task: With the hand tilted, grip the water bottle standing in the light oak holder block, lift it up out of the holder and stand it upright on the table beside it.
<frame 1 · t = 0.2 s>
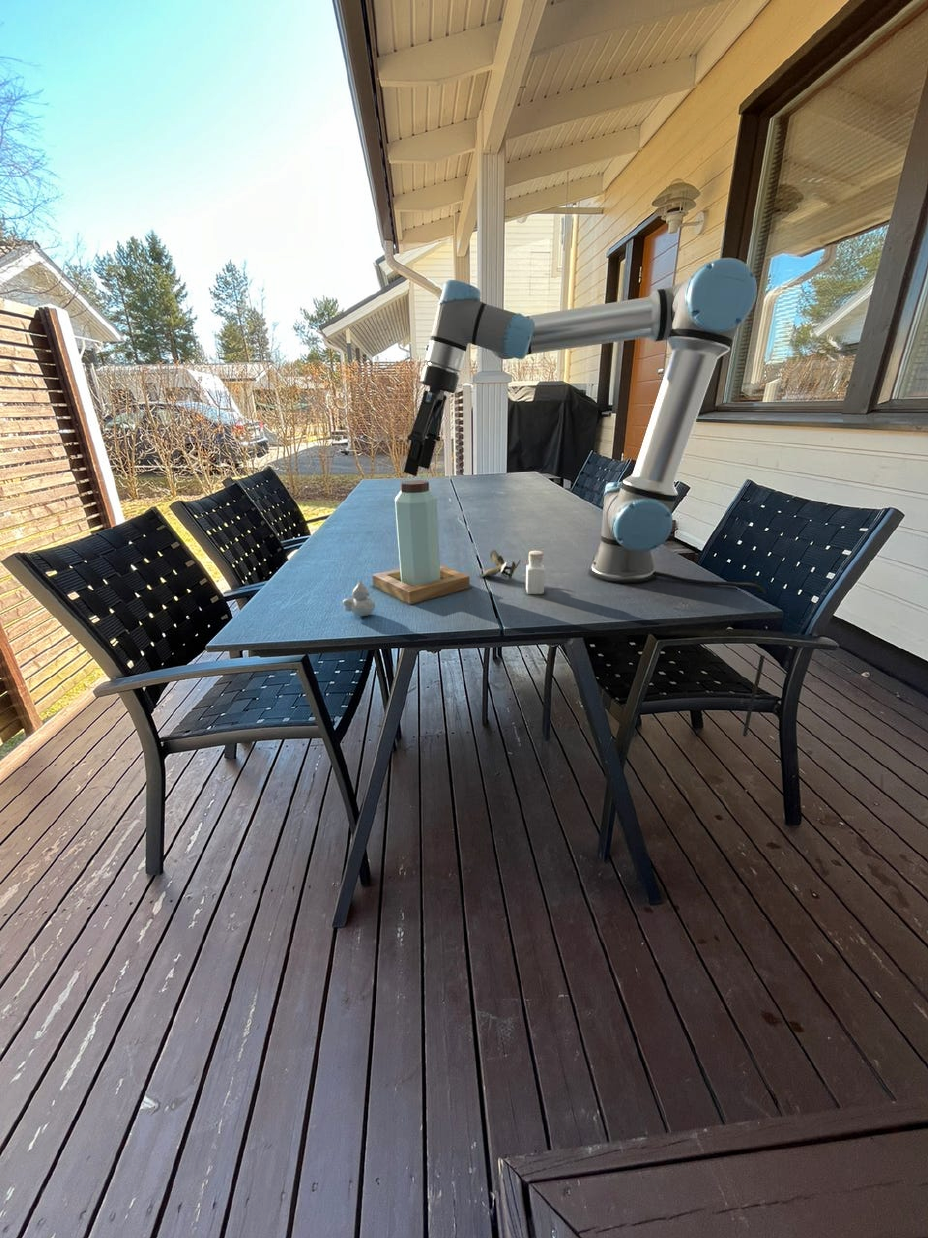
hand: (417, 470, 116), 28 cm above the table, tool tilted 20°, fingers open, 13 cm apart
water bottle: (421, 587, 128), resting in holder
holder: (421, 586, 128), on the table
white rounded figurine: (360, 616, 112), on the table
pepper shaker: (534, 592, 123), on the table
eagle figurine: (498, 578, 134), on the table
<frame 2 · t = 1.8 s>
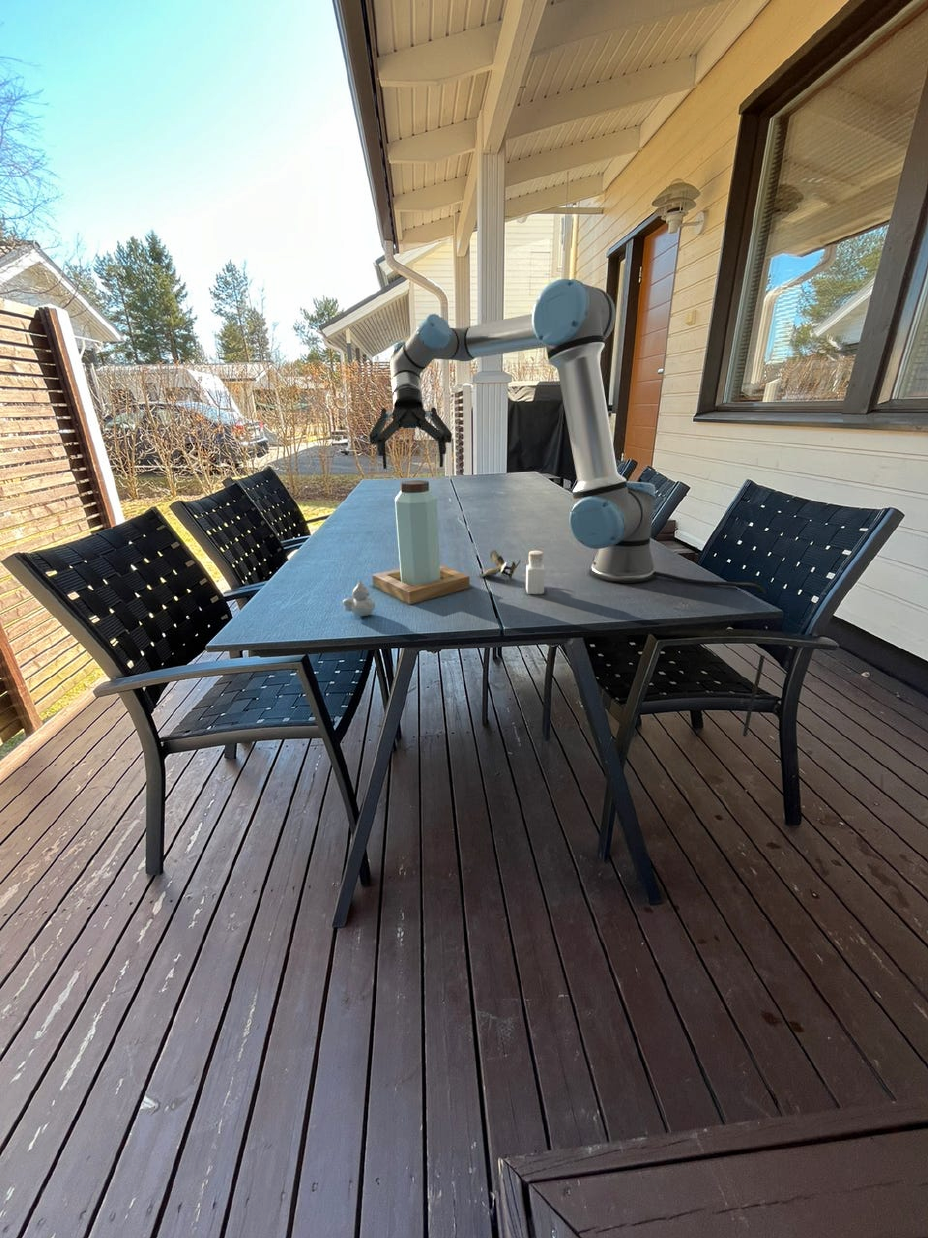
hand: (413, 464, 126), 28 cm above the table, tool tilted 45°, fingers open, 13 cm apart
nothing on the table moved.
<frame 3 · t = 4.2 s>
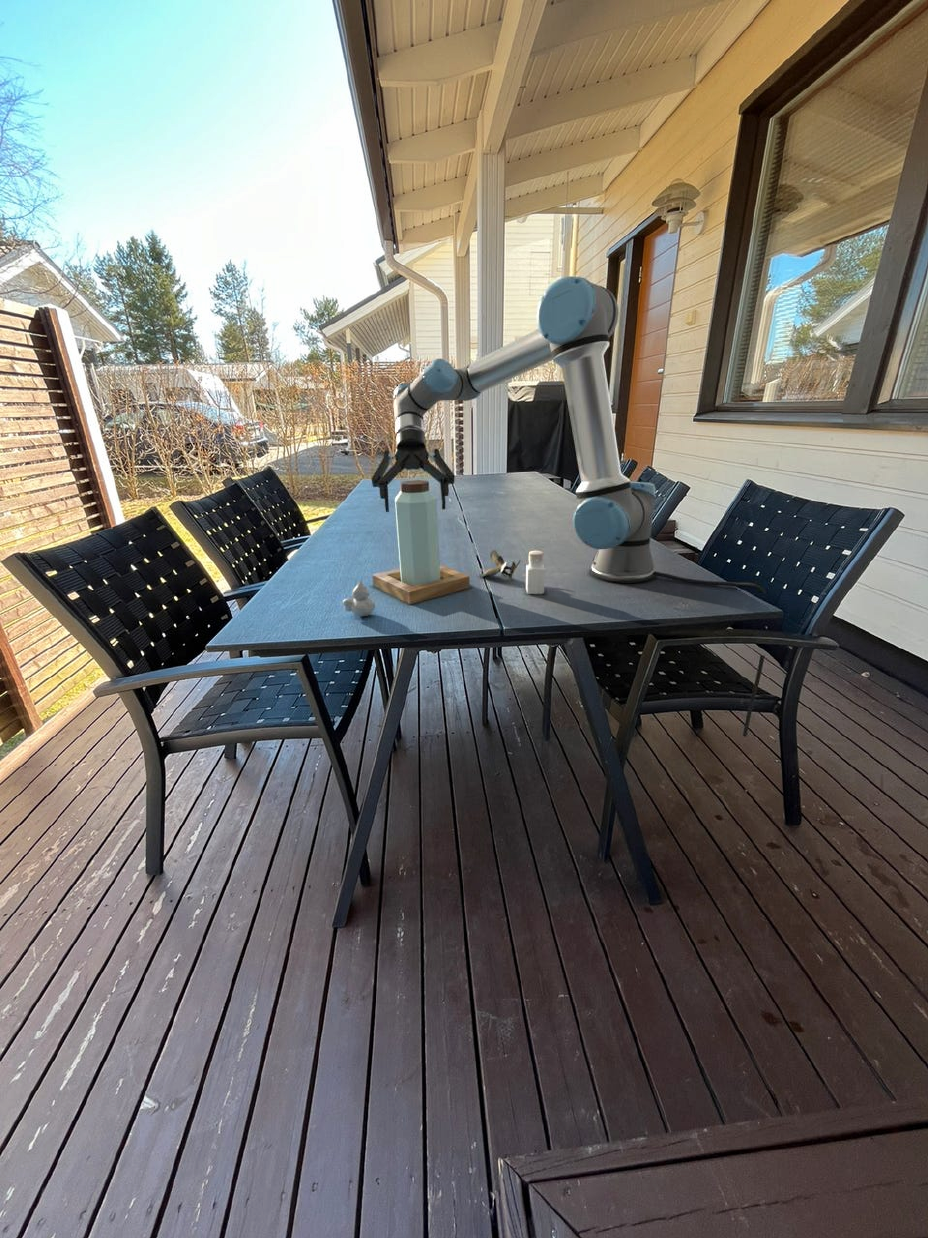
hand: (415, 507, 126), 18 cm above the table, tool tilted 45°, fingers open, 13 cm apart
nothing on the table moved.
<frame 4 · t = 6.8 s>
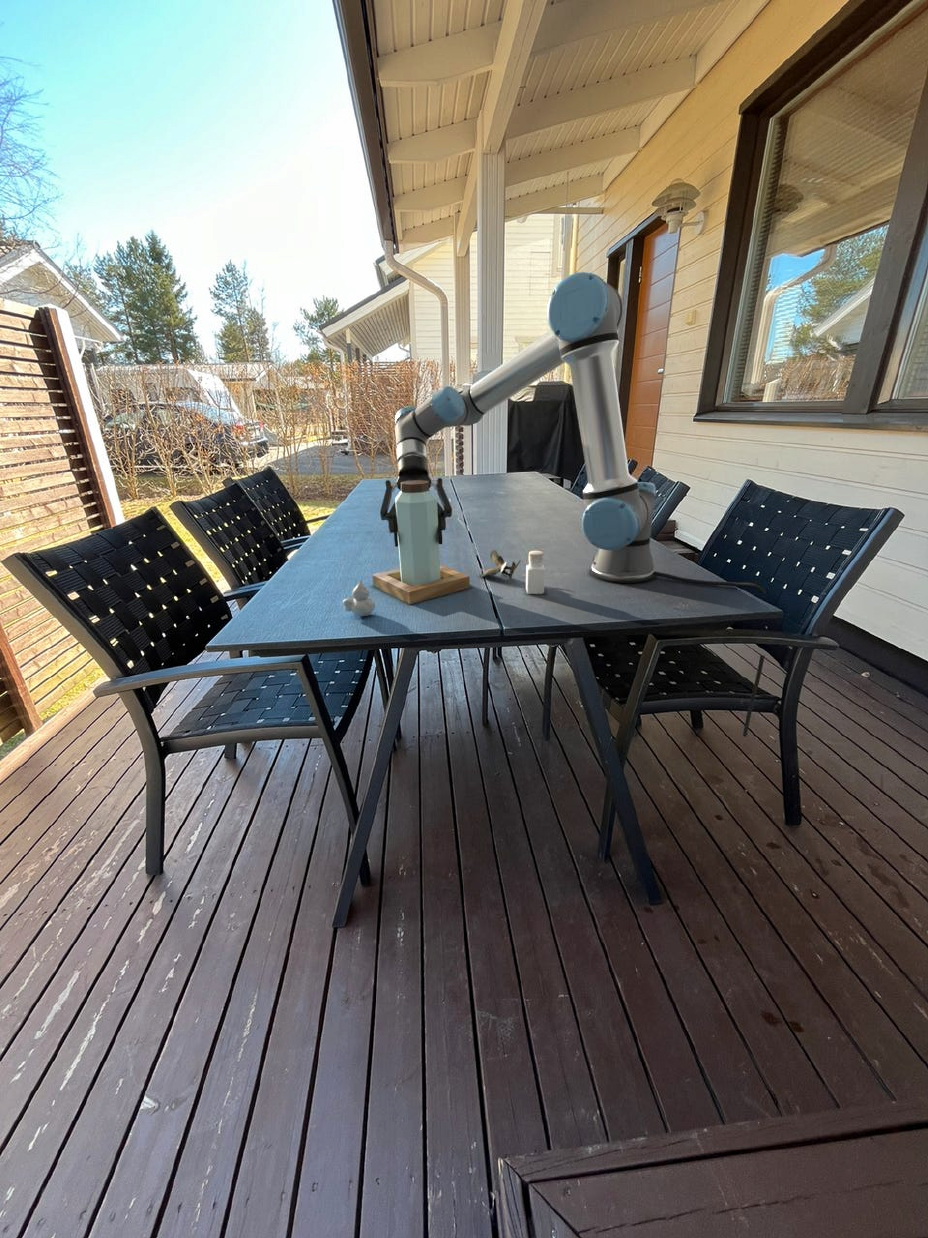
hand: (418, 542, 121), 12 cm above the table, tool tilted 45°, fingers closed on water bottle, 9 cm apart
water bottle: (421, 587, 128), resting in holder, touching gripper
everything else where it was.
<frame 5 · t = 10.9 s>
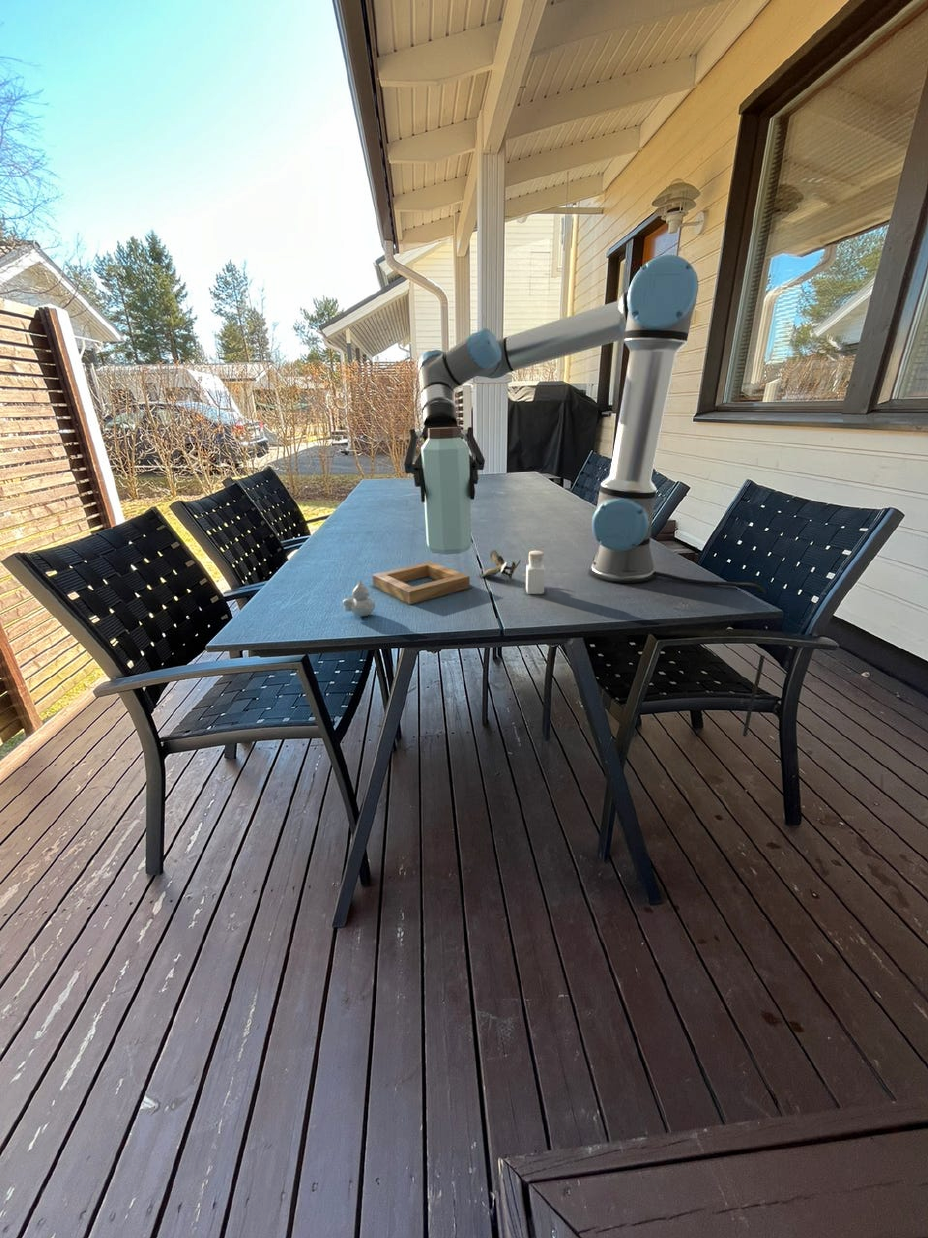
hand: (448, 496, 107), 24 cm above the table, tool tilted 45°, fingers closed on water bottle, 9 cm apart
water bottle: (449, 550, 115), point 12 cm above the table, touching gripper
everything else where it was.
when the fingers open (12 cm above the table, at t = 15.2 s): water bottle stays where it is, on the table.
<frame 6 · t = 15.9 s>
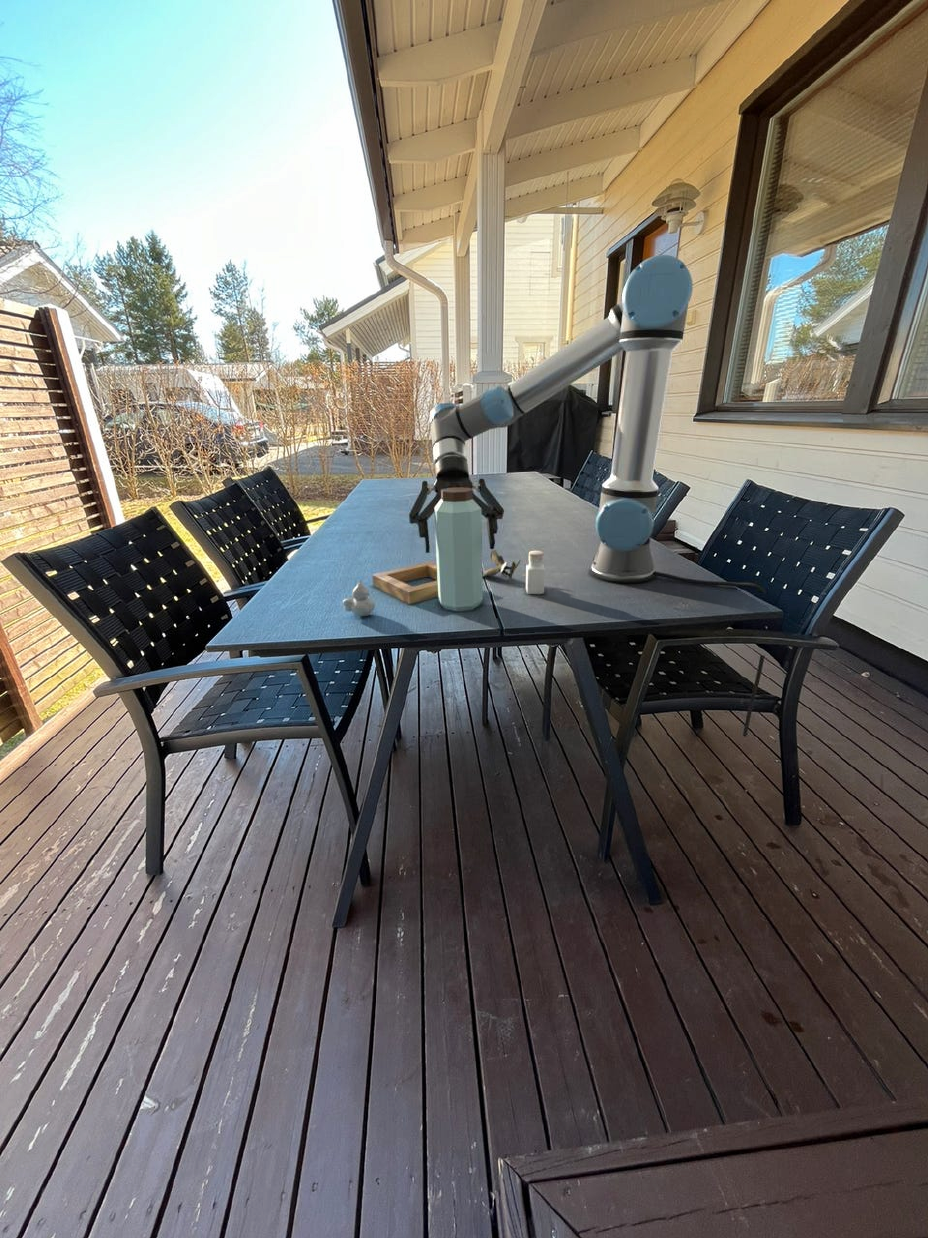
hand: (460, 547, 109), 13 cm above the table, tool tilted 45°, fingers open, 13 cm apart
water bottle: (460, 605, 116), on the table
everything else where it was.
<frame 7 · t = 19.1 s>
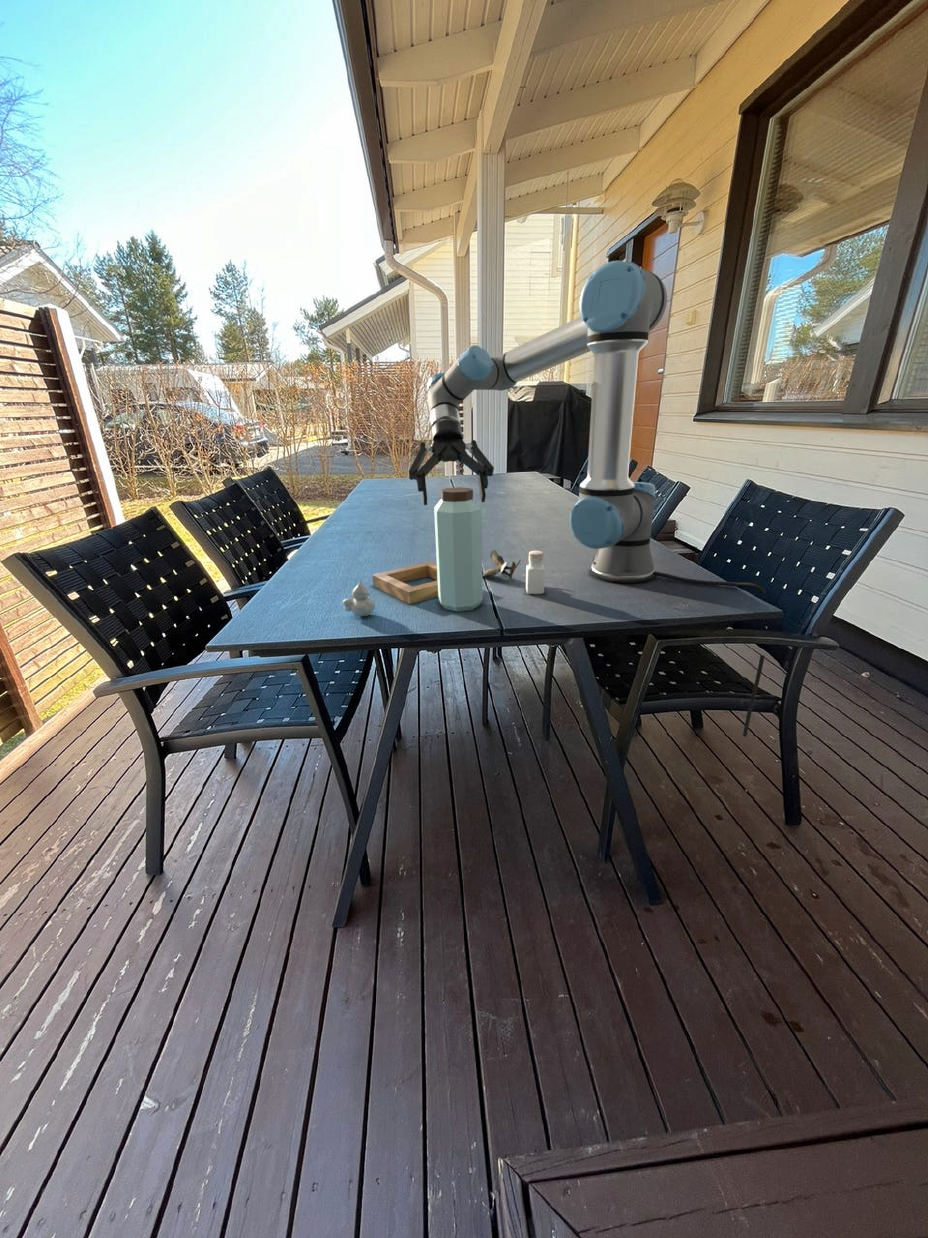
hand: (454, 500, 122), 20 cm above the table, tool tilted 45°, fingers open, 13 cm apart
nothing on the table moved.
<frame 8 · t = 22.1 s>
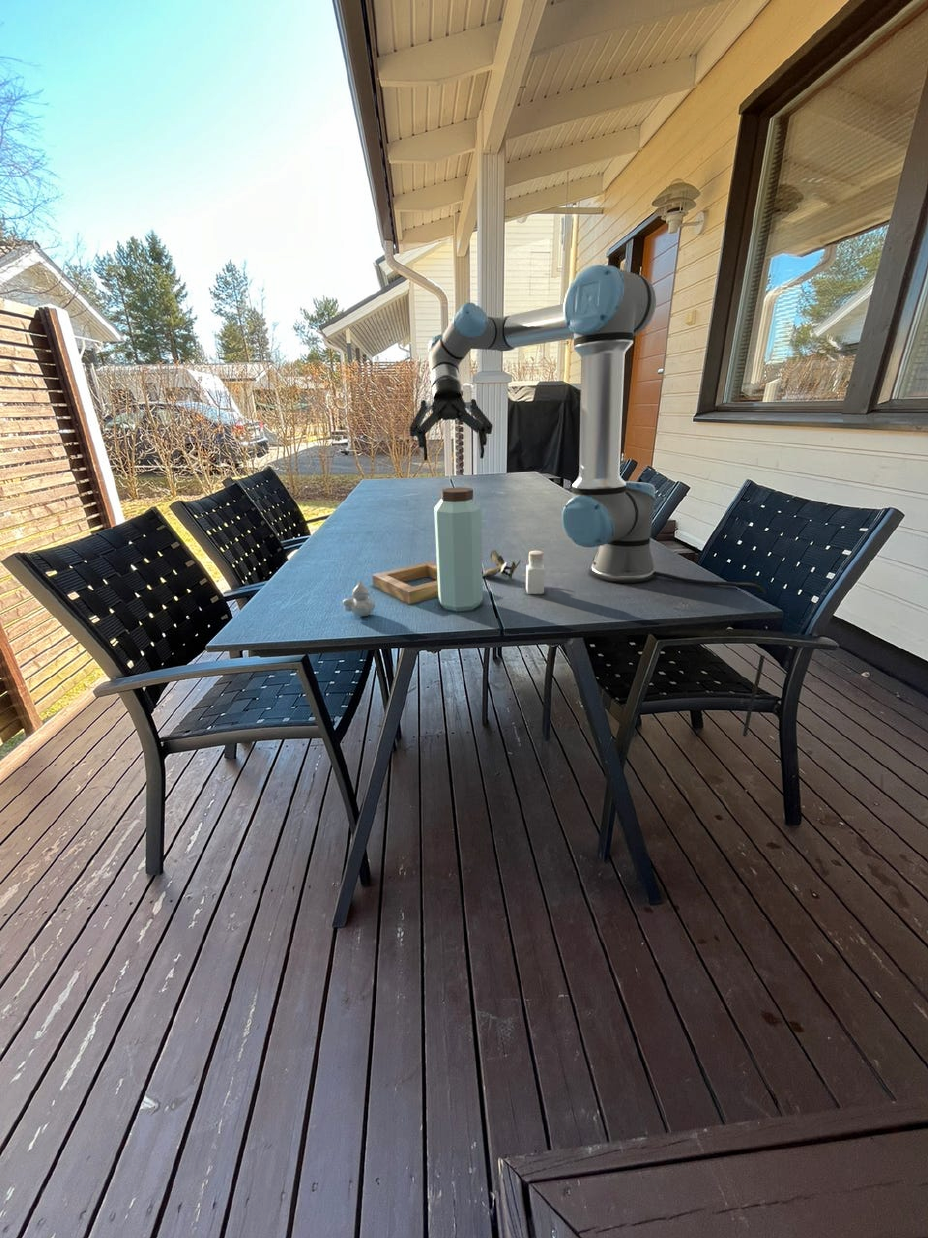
hand: (454, 455, 125), 30 cm above the table, tool tilted 45°, fingers open, 13 cm apart
nothing on the table moved.
at the end: water bottle inside the target area (0.0 cm from its centre), on the table; water bottle tilted 0°; the gripper is holding nothing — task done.
